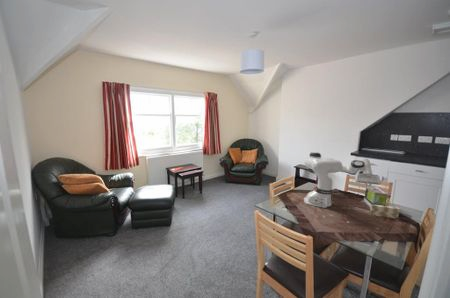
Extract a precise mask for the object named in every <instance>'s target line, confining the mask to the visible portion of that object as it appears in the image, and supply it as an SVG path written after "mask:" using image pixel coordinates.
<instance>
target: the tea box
mask: <svg viewBox="0 0 450 298" xmlns="http://www.w3.org/2000/svg"><path fill="white" fill-rule="evenodd" d="M365 186H366V185H365ZM387 199H388V192H386V191H384V190H383V189H382V188H380V187H378V186H371V187H370V186H366V188H365V192H364V198H363V202H364V203H365V204H366V205H367V206H369V208H370V206H371V204H374V205H383V206H387V205H386V204H387V201H388V200H387Z"/></svg>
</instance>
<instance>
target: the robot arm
mask: <svg viewBox="0 0 450 298" xmlns="http://www.w3.org/2000/svg"><path fill="white" fill-rule="evenodd" d="M304 165H305V167H306V168H307V169H308V172H309V173H310V174H312V175H313V174H316V177H317V186H316V185H313V190H312V191H309V192H308V193H307V194H306V196H305V197H304V198H303V201H304V203H305V204H306V205H309V206H313V207H314V206H315V207H320V208H323V209H324V208H325V209H326V208H328V207H331V206H332V205H333V204H332V193H333V189H332V188H333V179H332V178H331V177H329V175H328V174H331V173H332V174H336V173H339V172H342V173H346V174H349V175H351V176H355V178H354V180H355V182H356V183H359V184H364V185H365V186H370V187H372V185H378V186H379V185H381V184H382V180H381V177H380V175H378V174H373V170H372V165H371V161H370V160H369V159H368V158H366V157H362V158H360V159H355V160H352V161H351V162H350V163H349V165H347V166H344V165H343V163H342V162H341V160H338V159H334V158H333V157H332V158H331V157H322V154H321V153H320V152H318V151H312V152H310V153H309V157H308V158H306V159H305V160H304Z"/></svg>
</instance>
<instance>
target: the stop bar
mask: <svg viewBox="0 0 450 298" xmlns="http://www.w3.org/2000/svg"><path fill="white" fill-rule="evenodd" d="M400 210H401V209H400V208H399V207H398V206H389V205H385V206H383V205H374V204H371V206H370V207H369V213H370V214H371V215H370V214H369V215H370V216H373V215H376V216H375V217H381V216H385V217H384V218H389V217H391V218H390V219H396V218H398V219H399V215H400Z"/></svg>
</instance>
